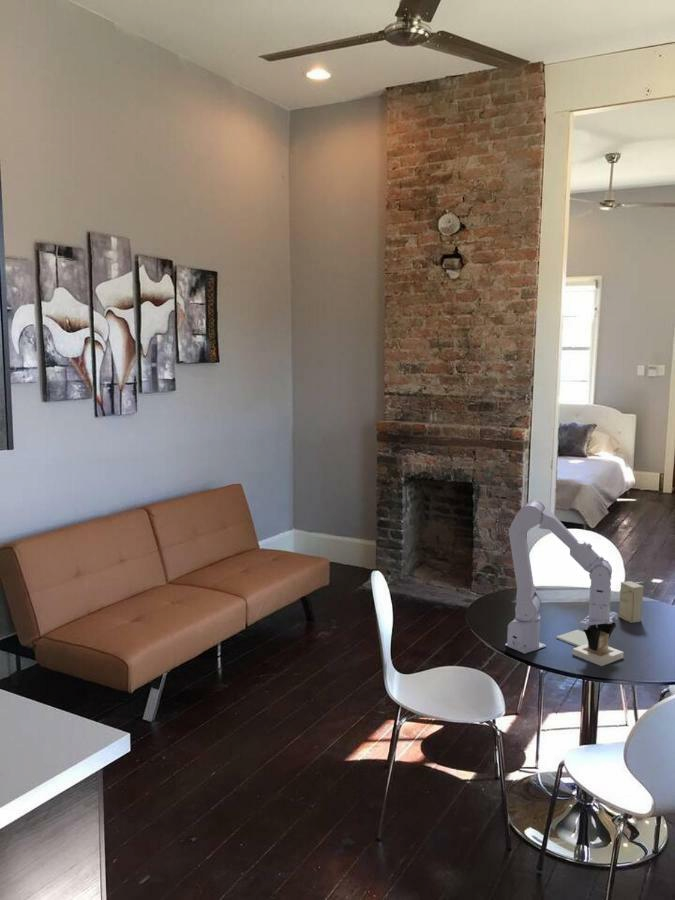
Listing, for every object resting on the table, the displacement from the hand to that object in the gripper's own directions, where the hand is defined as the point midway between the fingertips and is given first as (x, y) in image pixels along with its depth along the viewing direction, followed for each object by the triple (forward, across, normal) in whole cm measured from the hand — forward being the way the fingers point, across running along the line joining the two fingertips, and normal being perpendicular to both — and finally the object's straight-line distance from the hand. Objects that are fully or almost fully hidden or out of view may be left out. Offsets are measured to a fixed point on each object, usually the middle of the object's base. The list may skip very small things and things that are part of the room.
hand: (598, 647), depth 215 cm
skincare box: (+3, +34, +13) cm, 37 cm away
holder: (+3, 0, 0) cm, 3 cm away
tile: (+3, +6, +11) cm, 13 cm away
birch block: (+3, 0, 0) cm, 3 cm away
